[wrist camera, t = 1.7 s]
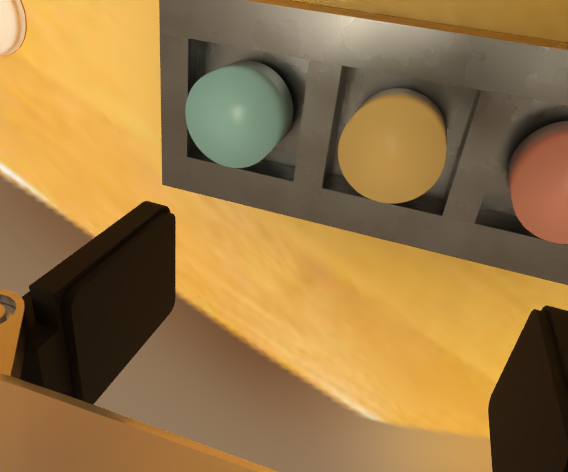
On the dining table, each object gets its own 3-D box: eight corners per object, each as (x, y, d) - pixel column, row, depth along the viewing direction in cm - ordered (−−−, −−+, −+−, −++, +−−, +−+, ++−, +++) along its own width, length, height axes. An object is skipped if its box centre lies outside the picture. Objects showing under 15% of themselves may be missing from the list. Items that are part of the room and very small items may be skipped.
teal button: (298, 69, 23) (282, 79, 21) (287, 159, 26) (271, 177, 23) (210, 53, 24) (185, 61, 22) (207, 141, 26) (184, 156, 24)
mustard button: (459, 98, 22) (459, 112, 19) (432, 191, 24) (429, 213, 22) (358, 80, 23) (347, 91, 20) (341, 171, 25) (330, 190, 23)
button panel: (720, 65, 20) (757, 79, 17) (610, 266, 25) (627, 299, 23) (189, -15, 25) (159, -14, 22) (187, 166, 30) (162, 184, 27)
